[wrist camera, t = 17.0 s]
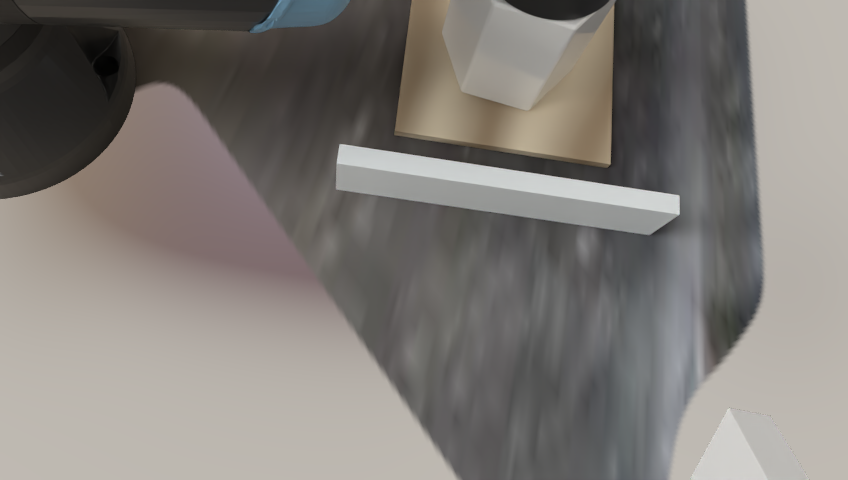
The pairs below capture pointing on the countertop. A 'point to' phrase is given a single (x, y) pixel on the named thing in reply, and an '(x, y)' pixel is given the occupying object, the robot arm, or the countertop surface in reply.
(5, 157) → the robot arm
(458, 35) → the jar
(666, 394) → the countertop surface
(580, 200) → the acrylic wall
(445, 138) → the oak board
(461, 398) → the countertop surface
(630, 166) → the countertop surface
